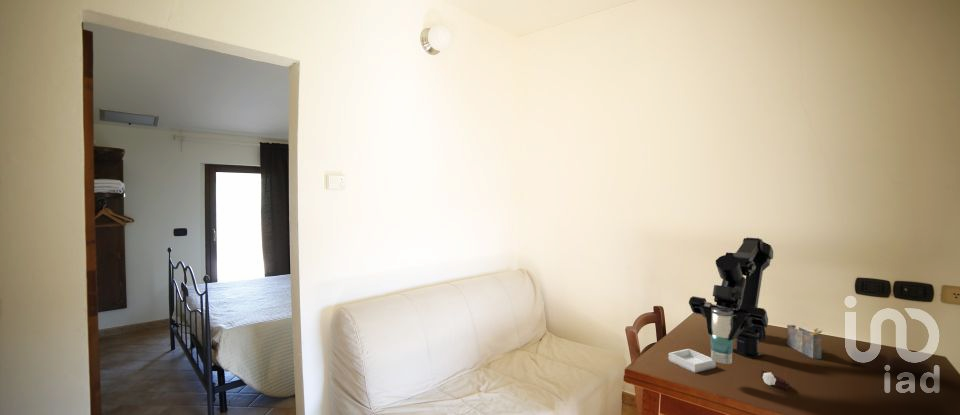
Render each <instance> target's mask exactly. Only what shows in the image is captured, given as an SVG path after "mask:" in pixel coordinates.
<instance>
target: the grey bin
mask: <svg viewBox="0 0 960 415" xmlns="http://www.w3.org/2000/svg"><path fill="white" fill-rule="evenodd" d="M668 362H670V363H672V364H676V365H677V366H679V367H681V368H684V369H686V370H688V371H690V372H692V373H695V374H696V373H699V372H704V371H707V370H713V369H716V368H717V367H716V363H717V362H716V361H713V360H712V359H711V356H707V355H705V354H702V353H701V352H698V351H696V350H694V349H691V348H686V349H680V350H676V351H671V352H668Z"/></svg>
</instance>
